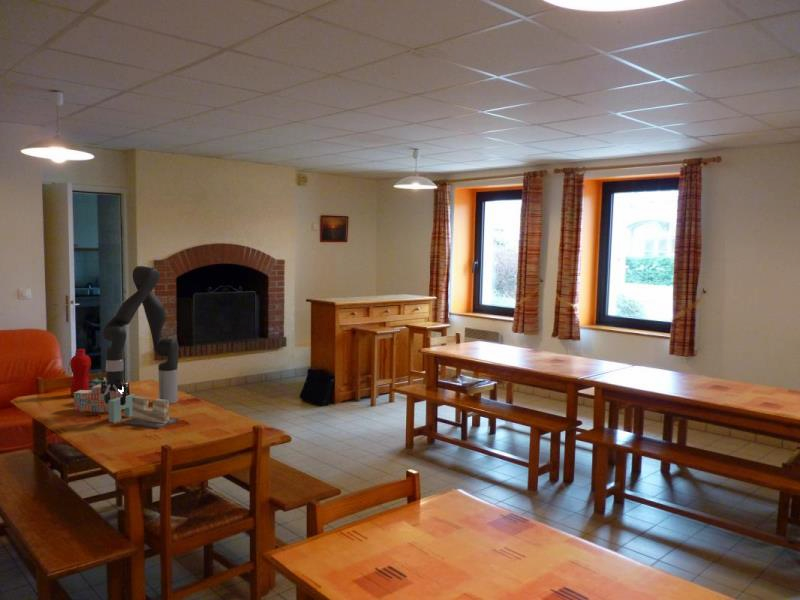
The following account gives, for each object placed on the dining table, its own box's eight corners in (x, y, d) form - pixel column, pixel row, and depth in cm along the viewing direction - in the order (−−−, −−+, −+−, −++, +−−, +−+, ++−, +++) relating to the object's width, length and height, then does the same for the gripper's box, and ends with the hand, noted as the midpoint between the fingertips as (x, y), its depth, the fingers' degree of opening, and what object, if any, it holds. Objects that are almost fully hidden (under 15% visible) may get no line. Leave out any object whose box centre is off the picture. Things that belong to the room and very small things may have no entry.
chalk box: (115, 400, 322) (114, 372, 321) (98, 404, 314) (98, 375, 313) (105, 398, 327) (104, 370, 326) (88, 401, 319) (87, 373, 318)
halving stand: (144, 416, 295) (143, 393, 294) (178, 420, 288) (178, 397, 287) (122, 423, 282) (121, 400, 281) (158, 428, 275) (157, 404, 274)
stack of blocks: (73, 411, 301) (72, 386, 300) (80, 408, 307) (80, 383, 306) (116, 413, 300) (115, 388, 299) (122, 409, 306) (122, 385, 305)
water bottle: (72, 393, 336) (71, 347, 334) (93, 393, 337) (92, 347, 335) (65, 397, 327) (64, 350, 324) (87, 397, 328) (86, 350, 326)
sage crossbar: (131, 414, 297) (130, 394, 296) (136, 415, 296) (135, 394, 295) (108, 422, 284) (108, 400, 283) (114, 422, 283) (113, 401, 282)
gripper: (96, 369, 282) (96, 404, 284) (121, 371, 278) (121, 407, 279) (108, 366, 290) (109, 400, 291) (133, 369, 285) (133, 403, 286)
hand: (115, 404), depth 285 cm, fingers open, 8 cm apart
